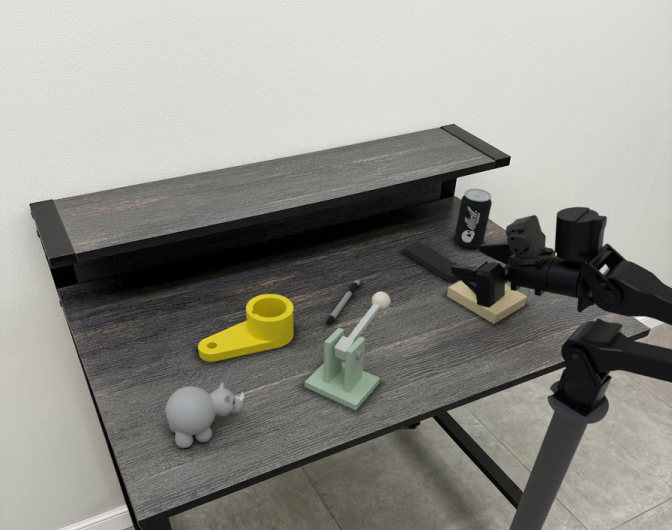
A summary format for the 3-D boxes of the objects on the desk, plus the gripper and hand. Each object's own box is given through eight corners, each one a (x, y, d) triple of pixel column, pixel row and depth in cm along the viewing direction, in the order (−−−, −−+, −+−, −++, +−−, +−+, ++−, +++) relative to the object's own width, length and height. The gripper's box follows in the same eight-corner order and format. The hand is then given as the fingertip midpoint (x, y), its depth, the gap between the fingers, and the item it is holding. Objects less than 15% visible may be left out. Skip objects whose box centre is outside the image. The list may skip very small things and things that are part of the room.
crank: (280, 315, 120) (279, 289, 116) (301, 339, 114) (301, 313, 111) (191, 343, 112) (187, 316, 108) (209, 370, 107) (206, 343, 103)
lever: (377, 298, 109) (377, 285, 107) (393, 304, 108) (393, 291, 105) (332, 357, 102) (330, 344, 99) (349, 364, 100) (348, 351, 98)
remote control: (401, 254, 139) (450, 282, 130) (401, 247, 138) (451, 275, 129) (417, 247, 142) (466, 275, 133) (417, 240, 141) (467, 268, 132)
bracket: (329, 361, 110) (331, 316, 104) (379, 383, 107) (384, 338, 100) (304, 387, 105) (304, 341, 99) (355, 410, 101) (359, 365, 95)
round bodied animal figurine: (253, 434, 97) (250, 394, 91) (175, 456, 93) (168, 416, 87) (239, 404, 101) (236, 364, 96) (165, 423, 98) (157, 383, 92)
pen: (325, 324, 118) (325, 319, 117) (356, 280, 130) (356, 275, 129) (331, 326, 118) (331, 320, 117) (362, 282, 129) (362, 277, 129)
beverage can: (450, 246, 142) (459, 197, 134) (457, 233, 146) (466, 185, 138) (479, 253, 140) (489, 203, 132) (485, 239, 145) (495, 191, 137)
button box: (524, 305, 125) (529, 288, 123) (493, 324, 120) (498, 307, 118) (477, 279, 132) (481, 262, 129) (446, 296, 127) (449, 279, 124)
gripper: (582, 204, 99) (492, 194, 108) (528, 248, 87) (433, 233, 97) (577, 269, 105) (492, 254, 114) (526, 318, 93) (436, 297, 103)
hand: (465, 258), depth 107 cm, fingers open, 9 cm apart
